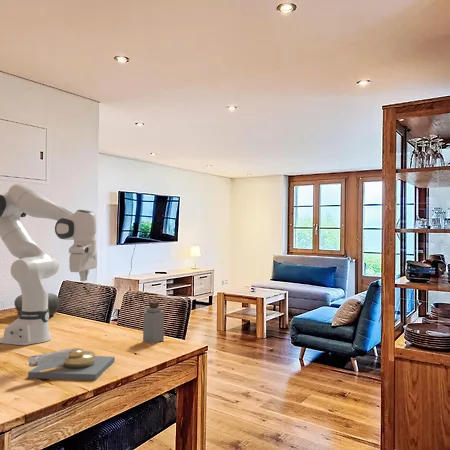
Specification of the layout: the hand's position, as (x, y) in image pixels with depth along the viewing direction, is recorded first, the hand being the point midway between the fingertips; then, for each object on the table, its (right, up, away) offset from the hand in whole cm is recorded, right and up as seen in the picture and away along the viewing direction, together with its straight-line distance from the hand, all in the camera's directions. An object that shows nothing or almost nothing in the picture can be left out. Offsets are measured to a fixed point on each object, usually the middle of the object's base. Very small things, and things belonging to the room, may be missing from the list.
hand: (83, 280), depth 173 cm
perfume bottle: (+26, -31, +19) cm, 45 cm away
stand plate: (+4, -30, -21) cm, 37 cm away
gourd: (-51, -31, +69) cm, 91 cm away
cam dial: (+1, -27, -26) cm, 38 cm away
